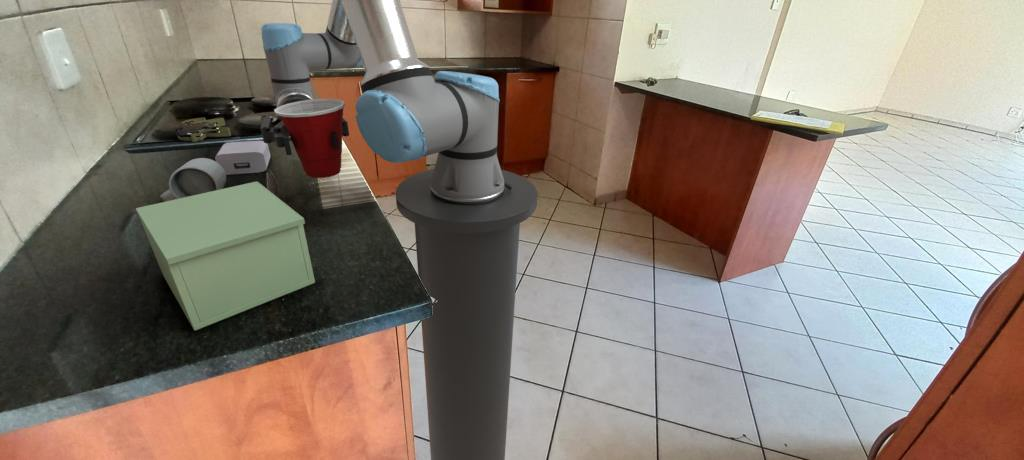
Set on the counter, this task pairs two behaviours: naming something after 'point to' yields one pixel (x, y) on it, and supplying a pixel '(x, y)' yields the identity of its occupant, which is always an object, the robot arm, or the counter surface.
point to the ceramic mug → (195, 179)
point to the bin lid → (215, 220)
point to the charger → (244, 157)
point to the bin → (238, 275)
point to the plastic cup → (315, 134)
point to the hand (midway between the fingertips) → (312, 144)
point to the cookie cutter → (199, 120)
